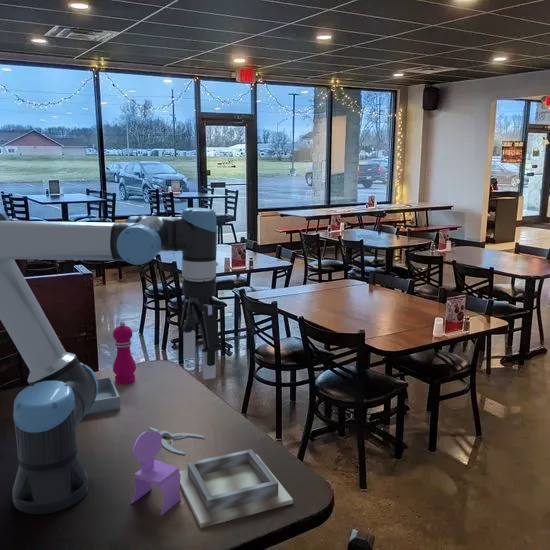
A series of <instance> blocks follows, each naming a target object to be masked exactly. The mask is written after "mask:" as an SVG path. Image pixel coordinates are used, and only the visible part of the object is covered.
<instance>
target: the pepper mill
mask: <svg viewBox="0 0 550 550" xmlns="http://www.w3.org/2000/svg"><path fill="white" fill-rule="evenodd" d="M118 324H119V325H118V326H116V327H115V328H114V329H113V331H112V337H113V339H114V340H115V341H114V346H115V347H116V356H115V359H114V362H113V363H112V364H113V365H112V371H113V373H114V374H115V376H114V382H115V383H116V384H117V385H130V384H133V383H135V381H136V374H135V372H136V370H137V365H136V361H135V359H134V358H133V355H132V353H131V345H132V337H133V330H132V328H131V327H130V326H128V325H126V322H125V321H123V320H122V321H119V323H118Z"/></svg>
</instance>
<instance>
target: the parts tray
mask: <svg viewBox="0 0 550 550" xmlns="http://www.w3.org/2000/svg"><path fill="white" fill-rule="evenodd" d="M97 380H98V394H97V396H96V399H95V402H94V404H93V405H92V407H91V408H90V409H89V410H88V411H87V413H86V414H85V416H84V417H86V416H87V417H88V416H91V415H97V414H102V413H109V412H110V413H111V412H115V411H121V401H120V400H121V399H120V394H119V392H118V390H117V388H116V386H115V383H114V382H115V381H114V380H113V378H112V376H108V377H107V376H106V377H100V378H97Z"/></svg>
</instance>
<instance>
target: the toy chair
mask: <svg viewBox="0 0 550 550" xmlns="http://www.w3.org/2000/svg"><path fill="white" fill-rule="evenodd" d="M161 447H162V444H161V434H160V433H158V432H155V431H149V430H148V431H144V433H141V434H139V435H138V437H137V439H136V440H135V443H134V446H133V447H132V457H133V458H134V460H136V461H138V462H140V466H141V469H139V470H138V471H137V472H135V473H134V478H133V483H134V492H133V496H132V498H131V500H130V504H134V503H136V501H138V500H139V499H140V498H141V497H143V496H145V495H146V494H148V492H150V491H151V490H153V489H152V485H153V486H156V487H157V488H158V489H159V491H160V492H161V494H162V496H163V506H162V508H161V511H160V514H159V515H160V516H163V515H164V514H165V513H166V512H168V511H169V510H170V509H171V508H173V507H174V506H175V505H176V504H177V503H179V502H180V501H181V493H180V492H181V491H180V489H181V487H180V477H181V476H180V472H179V471H180V468H179V467H178V466H175V465H171V464H169V463H166V462H163V461H160V460H157V459H155V457H156V456H157V455H158V454H159V453H160V451H161V449H162V448H161Z"/></svg>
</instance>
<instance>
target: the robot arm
mask: <svg viewBox="0 0 550 550" xmlns="http://www.w3.org/2000/svg"><path fill="white" fill-rule="evenodd" d="M217 236H218V228H217V213H216V212H215V210H214V209H212V208H208V207H207V208H206V207H186V208H184V209H182V213H181V216H174V217H173V216H153V215H143V214H142V215H133V216H129V217H128V218H127V219H126V222H103V221H102V222H99V221H98V222H96V221H94V222H93V221H92V222H91V221H89V222H88V221H85V222H84V221H83V222H82V221H47V220H46V221H45V220H44V221H43V220H42V221H41V220H40V221H35V220H34V221H33V220H11V219H10V218H9V216H8V215H7V213H5V212H4V211H3V210H2V209H1V208H0V321H1V324H3V327H4V328H5V330H6V332H7V334H8V335H9V337H10V338H11V340H12V342H13V344H14V345H15V347H16V349H17V351H18V352H19V354H20V356H21V358H22V359H23V361H24V363H25V364H26V366H27V368H28V369H29V374H28V378H27V382H28V385H29V386H27V387H25V388H24V389H22V390H21V391H20V392H18V394H17V395H16V397H15V398H14V402H13V414H12V418H13V421H14V431H15V438H16V439H15V440H16V449H17V461H18V469H17V472H16V476H15V480H14V483H13V487H12V503H13V506H14V507H15V509H17V510H18V511H20V512H22V513H25V514H29V515H47V514H53V513H57V512H60V511H63V510H66V509H68V508H71V507H72V506H74V505H75V504H77V503H78V502H81V500H82V499H83V498H85V496H86V495H87V493H88V491H89V477H88V474H87V471H86V469H85V467H84V464H83V462H82V461H81V459H80V457H79V454H78V439H77V428H78V426H79V425H80V424H81V421H82V420H83V419H84V417H86V416H85V414H86V413H87V411H88V410H89V409H90V408H91V407H92V405H93V404H94V402H95V399H96V396H97V394H98V380H97V379H98V378H97V375H96V373H95V371H93V369H92V368H91V367H90V366H88V365H87V364H84V363H82V362H80V361H79V358H78V356H77V355H76V354H75V353H73V352H67V351H66V350H65V348H64V345H62V342H61V340H60V339H59V337H58V335H57V334H56V331H55V330H54V328H53V326H52V324H51V323H50V321H49V320H48V317H47V316H46V314H45V312H44V311H43V309H42V306H41V305H40V303H39V301H38V300H37V298H36V296H35V294H34V292H33V291H32V289H31V287H30V285H29V284H28V282H27V280H26V279H25V276H24V275H23V273H22V271H21V269H20V268H19V266H18V264H17V262H16V260H41V261H42V260H51V261H52V260H54V261H56V260H57V261H58V260H60V261H64V260H65V261H119V262H120V261H121V262H126V263H129V264H131V265H136V266H137V265H138V266H139V265H140V266H141V265H144V264H146V263H149V262H151V261H152V260H153V259H155V258H156V257H157V256H158V255H159V254H160V253H161V252H181V254H182V257H181V258H182V259H181V276H182V277H184V278H182V281H181V284H182V286H181V288H182V291H181V292H182V295H183V297H184V298H183V306H182V311H181V317H180V321H179V326H180V327H182V331H183V333H182V335H183V336H182V337H183V344H182V346H183V348H182V349H183V356H182V357H183V360H188V359H195V358H196V331H197V326H196V325H198V326H199V330H200V334H201V335H200V336H201V338H202V343H203V347H204V348H202V350H201V352H202V379H203V380H211V379H216V372H217V367H216V365H217V351H221V343H220V336H219V335H220V334H219V331H218V329H219V328H218V324H217V315H216V305H215V304H210V298H212V297H214V296H215V295H216V294H217V280H216V278H215V277H216V276H217V267H218V266H219V263H218V262H217V244H218V243H217V241H218V240H217V239H218V237H217Z"/></svg>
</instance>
